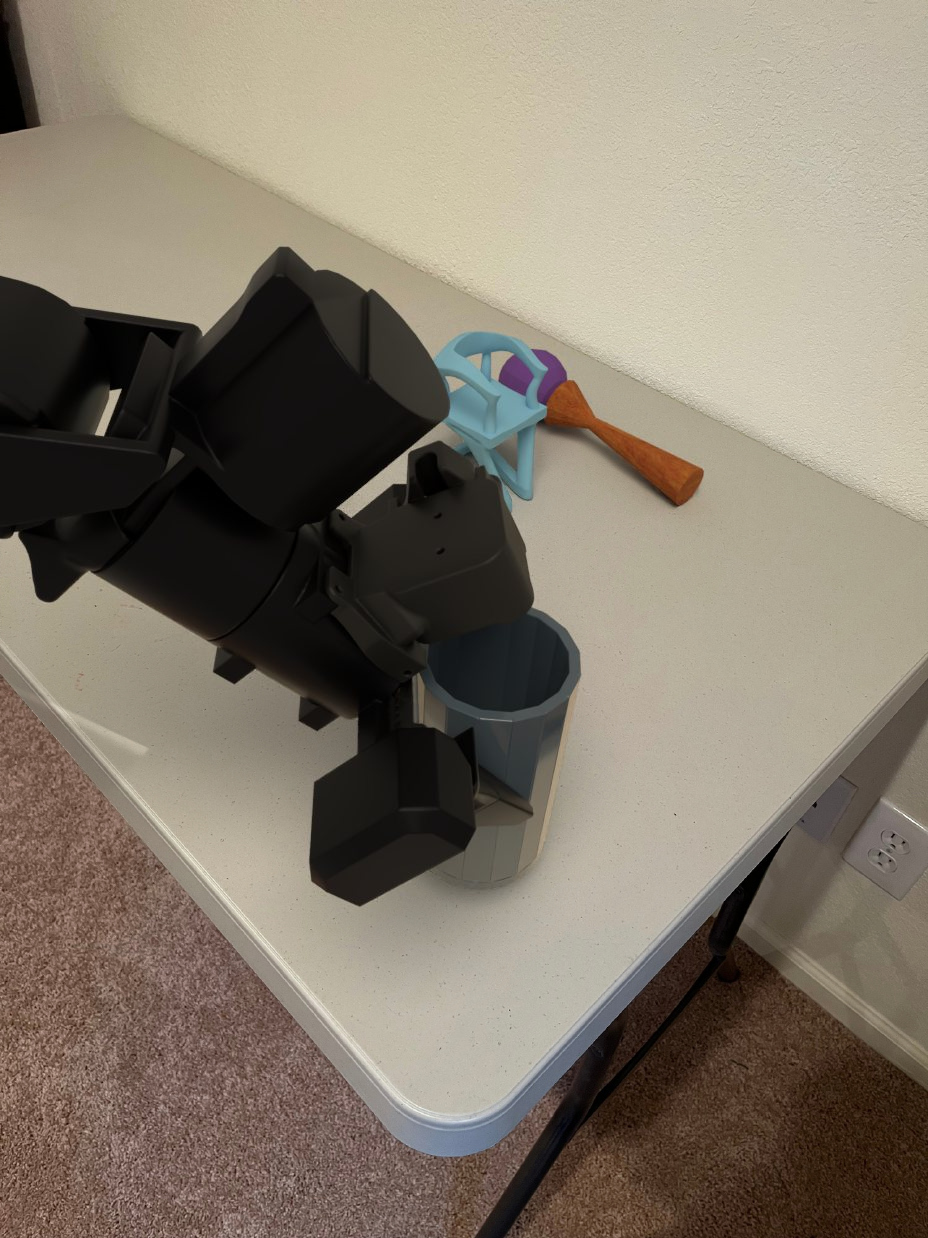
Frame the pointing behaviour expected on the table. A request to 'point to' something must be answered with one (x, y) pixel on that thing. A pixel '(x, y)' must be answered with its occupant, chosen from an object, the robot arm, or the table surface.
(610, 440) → the kendama
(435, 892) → the table surface
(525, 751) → the cup
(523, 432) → the chair
